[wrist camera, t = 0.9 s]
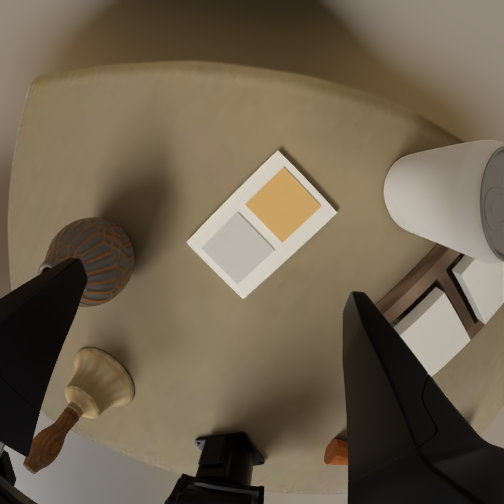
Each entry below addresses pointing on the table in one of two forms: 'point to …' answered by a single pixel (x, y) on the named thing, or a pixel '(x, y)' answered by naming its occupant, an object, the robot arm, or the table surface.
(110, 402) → the hand bell
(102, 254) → the vase
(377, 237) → the table surface
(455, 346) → the inner pad
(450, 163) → the can
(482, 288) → the outer pad
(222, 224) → the pattern card
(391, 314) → the button board
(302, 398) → the table surface
